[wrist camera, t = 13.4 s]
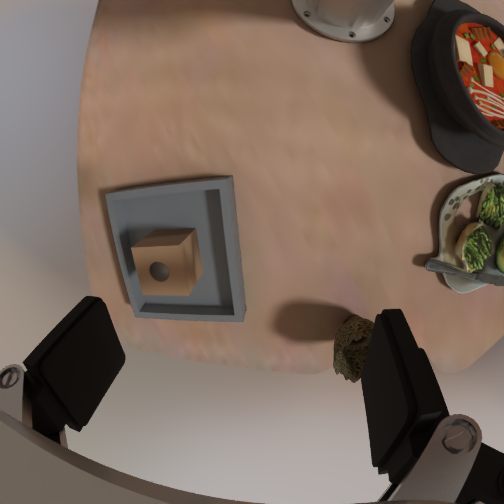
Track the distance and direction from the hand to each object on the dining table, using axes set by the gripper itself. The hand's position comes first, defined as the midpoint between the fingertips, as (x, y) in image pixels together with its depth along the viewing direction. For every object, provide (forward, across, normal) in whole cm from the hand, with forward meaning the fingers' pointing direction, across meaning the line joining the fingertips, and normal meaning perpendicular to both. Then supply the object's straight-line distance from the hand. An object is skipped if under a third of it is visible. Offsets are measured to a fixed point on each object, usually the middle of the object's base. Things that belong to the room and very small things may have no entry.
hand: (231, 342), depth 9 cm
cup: (+26, -10, +19) cm, 34 cm away
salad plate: (+27, -30, +6) cm, 41 cm away
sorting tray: (+26, +13, +8) cm, 30 cm away
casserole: (+28, -25, -15) cm, 40 cm away
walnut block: (+25, +13, +8) cm, 29 cm away
